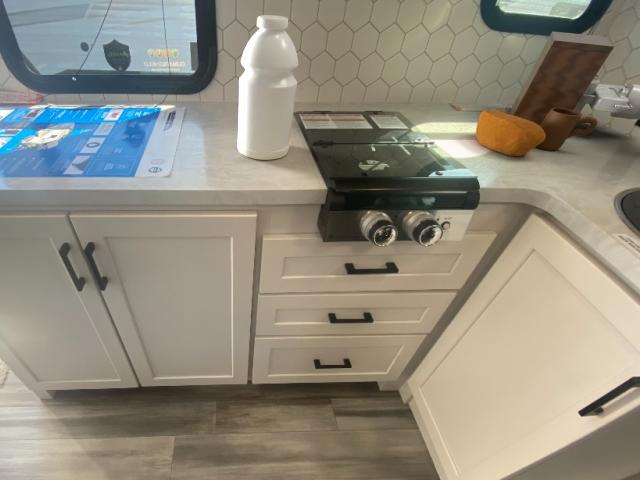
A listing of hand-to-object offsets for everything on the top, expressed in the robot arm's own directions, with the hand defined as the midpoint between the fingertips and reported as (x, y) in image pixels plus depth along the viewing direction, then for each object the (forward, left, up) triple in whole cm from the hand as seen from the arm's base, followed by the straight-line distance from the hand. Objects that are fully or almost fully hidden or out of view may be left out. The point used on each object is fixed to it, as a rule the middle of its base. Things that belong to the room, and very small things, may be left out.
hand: (574, 93), depth 110 cm
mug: (+7, +26, -9) cm, 28 cm away
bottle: (+86, +62, -9) cm, 106 cm away
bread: (+22, +31, -9) cm, 39 cm away
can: (-1, 0, -7) cm, 7 cm away
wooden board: (+6, -2, -9) cm, 11 cm away
